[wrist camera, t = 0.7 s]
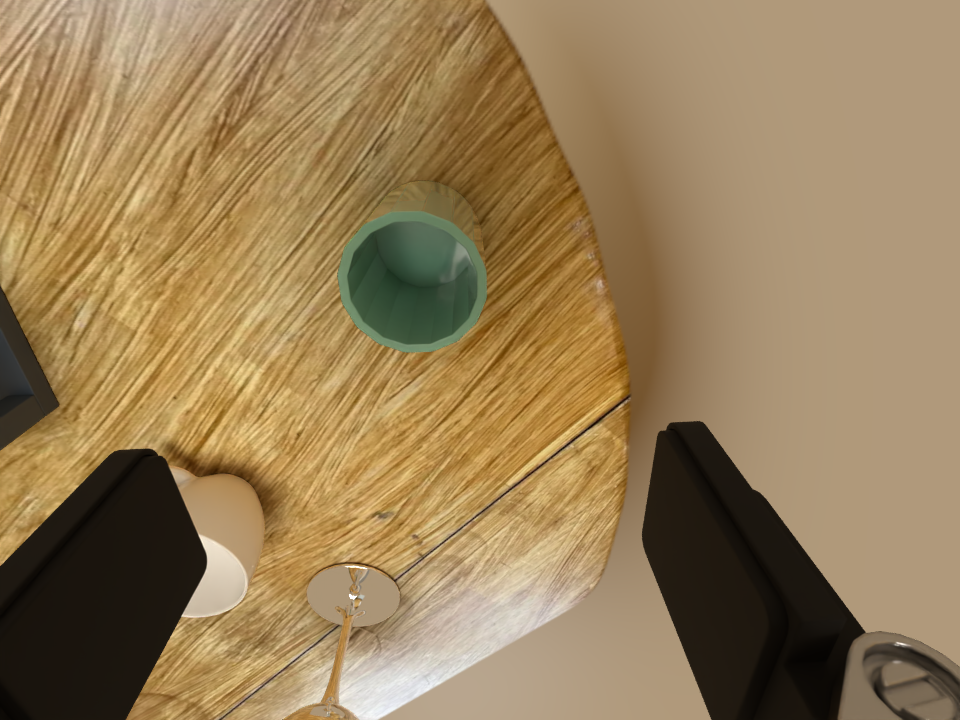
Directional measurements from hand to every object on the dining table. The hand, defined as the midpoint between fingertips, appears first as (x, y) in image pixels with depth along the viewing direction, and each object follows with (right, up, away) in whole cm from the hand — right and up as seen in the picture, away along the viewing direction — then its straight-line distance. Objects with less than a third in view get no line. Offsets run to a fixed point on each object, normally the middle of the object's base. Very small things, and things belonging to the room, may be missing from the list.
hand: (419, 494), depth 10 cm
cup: (-17, -6, +26) cm, 32 cm away
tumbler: (-2, +9, +18) cm, 20 cm away
